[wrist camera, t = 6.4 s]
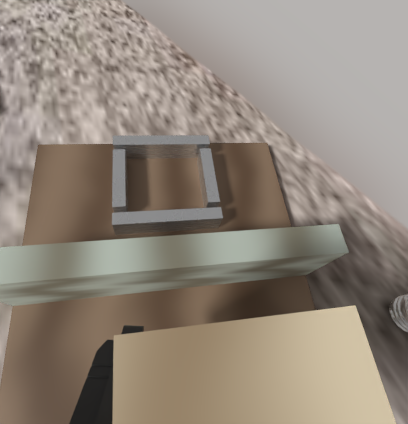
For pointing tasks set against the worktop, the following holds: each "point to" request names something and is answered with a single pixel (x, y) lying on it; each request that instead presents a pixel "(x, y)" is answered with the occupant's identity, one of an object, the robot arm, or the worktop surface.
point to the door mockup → (141, 264)
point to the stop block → (251, 372)
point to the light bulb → (400, 311)
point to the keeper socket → (163, 218)
